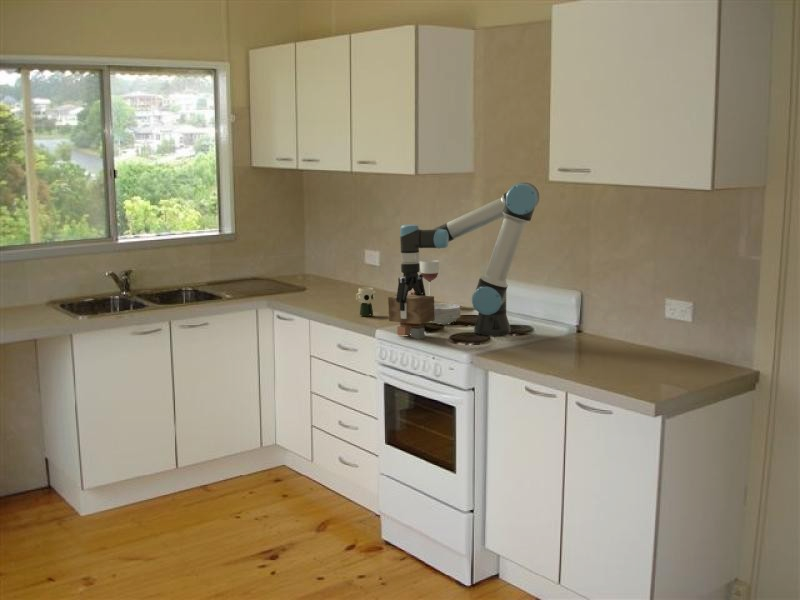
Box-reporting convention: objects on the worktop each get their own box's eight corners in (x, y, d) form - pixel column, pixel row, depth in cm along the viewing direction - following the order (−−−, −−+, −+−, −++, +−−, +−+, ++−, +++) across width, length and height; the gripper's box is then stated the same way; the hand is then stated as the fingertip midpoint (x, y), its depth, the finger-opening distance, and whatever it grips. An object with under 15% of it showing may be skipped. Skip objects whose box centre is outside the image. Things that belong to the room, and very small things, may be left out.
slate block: (424, 337, 378) (424, 327, 377) (419, 338, 375) (418, 329, 374) (416, 336, 380) (416, 326, 380) (411, 337, 377) (410, 328, 376)
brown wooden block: (434, 320, 378) (434, 296, 376) (420, 324, 370) (419, 299, 368) (403, 317, 387) (402, 293, 385) (389, 321, 379) (388, 297, 378)
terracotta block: (410, 335, 382) (410, 326, 381) (405, 337, 379) (405, 327, 378) (403, 334, 384) (402, 325, 384) (397, 336, 381) (397, 326, 380)
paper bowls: (467, 322, 409) (467, 305, 408) (444, 327, 398) (444, 309, 397) (442, 318, 420) (442, 301, 418) (419, 323, 409) (419, 305, 408)
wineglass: (428, 309, 444) (428, 262, 441) (416, 307, 452) (415, 260, 449) (443, 307, 449) (443, 261, 446) (430, 305, 457) (430, 259, 454)
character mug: (360, 318, 423) (360, 290, 421) (352, 316, 429) (351, 288, 427) (380, 315, 429) (379, 288, 427) (371, 313, 435) (371, 286, 433)
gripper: (418, 259, 386) (420, 311, 389) (386, 265, 368) (387, 320, 371) (433, 260, 381) (434, 313, 385) (401, 266, 364) (402, 321, 367)
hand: (411, 316), depth 378 cm, fingers closed on brown wooden block, 10 cm apart
